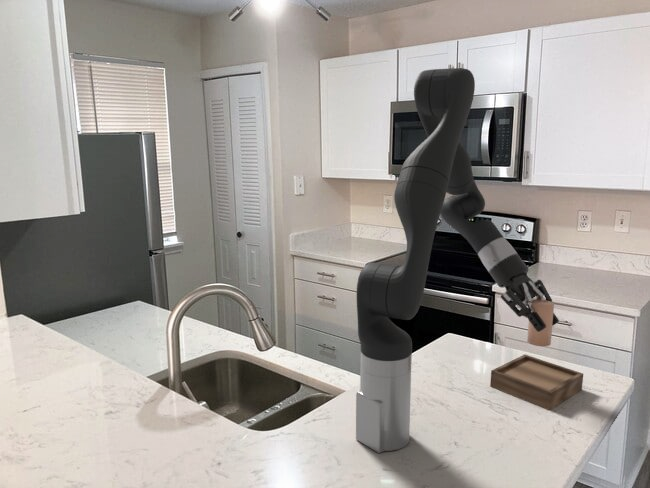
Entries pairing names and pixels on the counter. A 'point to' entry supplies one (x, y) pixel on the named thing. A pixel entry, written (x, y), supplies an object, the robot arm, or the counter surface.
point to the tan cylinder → (546, 314)
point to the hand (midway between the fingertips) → (548, 326)
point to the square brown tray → (537, 381)
